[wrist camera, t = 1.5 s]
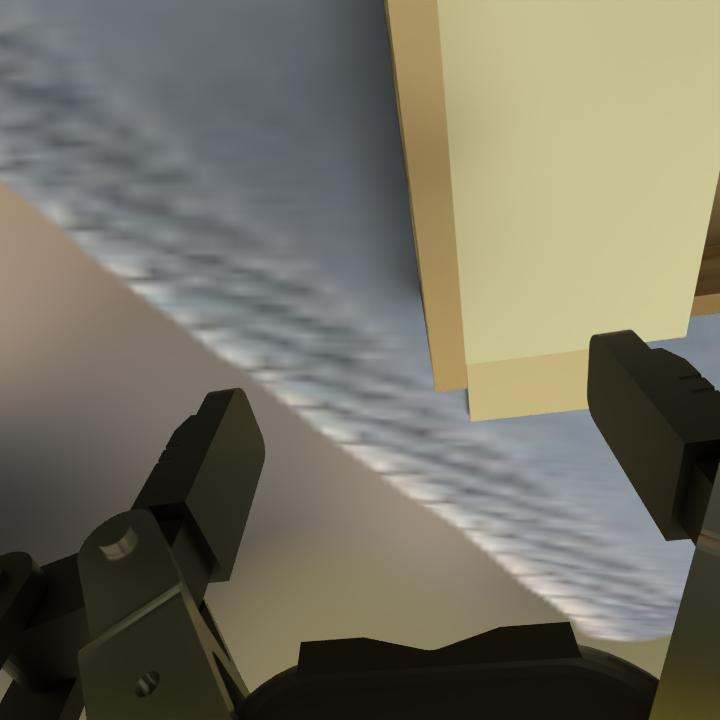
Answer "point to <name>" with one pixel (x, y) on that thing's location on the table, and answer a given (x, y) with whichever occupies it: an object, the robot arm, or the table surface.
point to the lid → (556, 169)
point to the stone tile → (528, 385)
